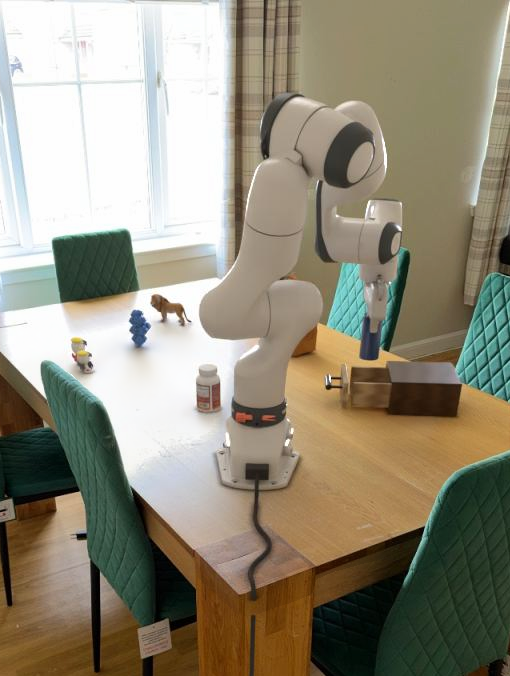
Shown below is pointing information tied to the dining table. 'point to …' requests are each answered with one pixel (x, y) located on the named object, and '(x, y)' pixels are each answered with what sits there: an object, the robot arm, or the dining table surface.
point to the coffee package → (309, 339)
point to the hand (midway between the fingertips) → (372, 328)
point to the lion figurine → (168, 308)
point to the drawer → (363, 386)
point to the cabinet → (423, 388)
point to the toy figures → (81, 354)
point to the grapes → (138, 327)
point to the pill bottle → (208, 388)
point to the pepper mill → (370, 340)
